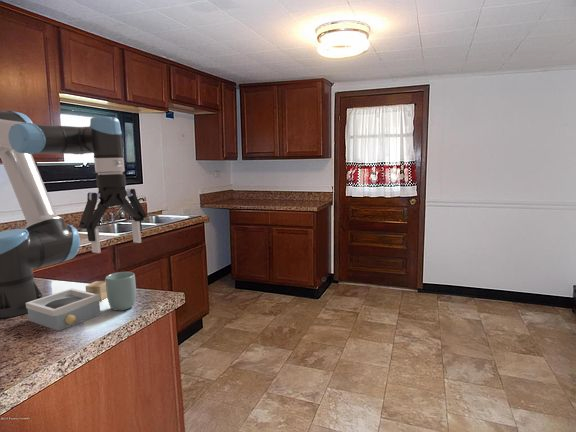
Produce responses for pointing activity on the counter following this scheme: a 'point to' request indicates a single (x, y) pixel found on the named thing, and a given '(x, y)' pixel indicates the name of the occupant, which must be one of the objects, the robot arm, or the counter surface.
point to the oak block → (98, 289)
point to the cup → (121, 290)
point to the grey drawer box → (63, 308)
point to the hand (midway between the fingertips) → (117, 247)
